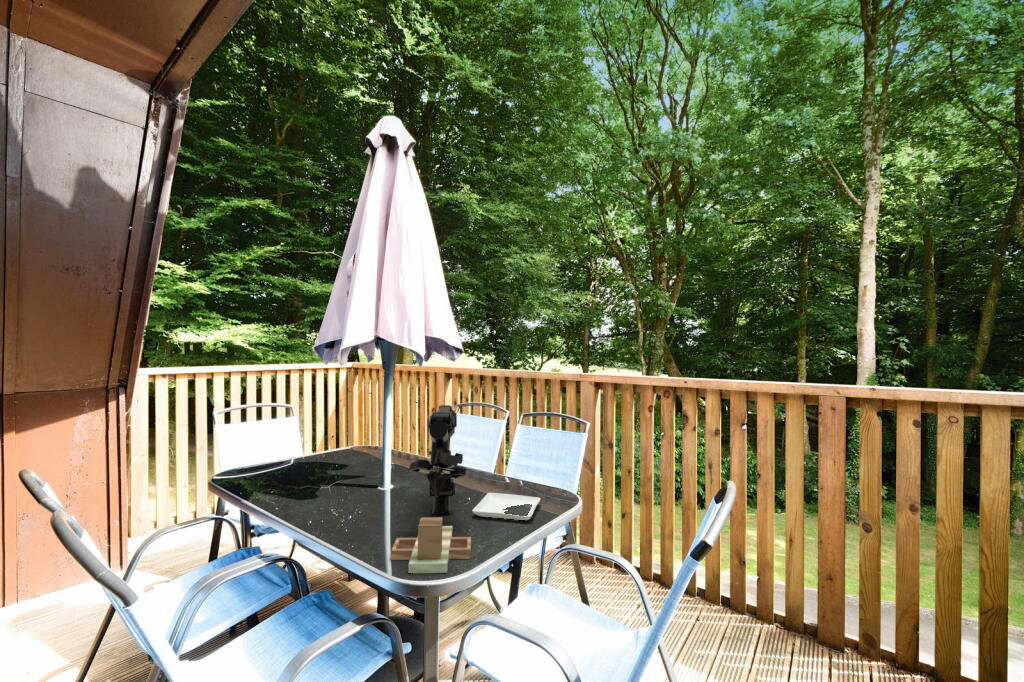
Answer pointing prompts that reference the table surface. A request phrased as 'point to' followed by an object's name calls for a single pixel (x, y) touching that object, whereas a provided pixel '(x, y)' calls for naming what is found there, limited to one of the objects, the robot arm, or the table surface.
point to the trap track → (450, 550)
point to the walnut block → (430, 538)
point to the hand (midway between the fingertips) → (437, 496)
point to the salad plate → (504, 505)
